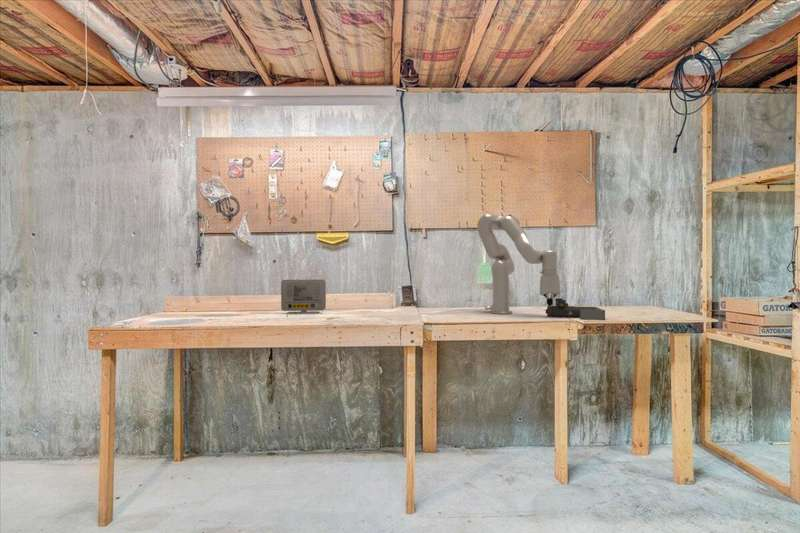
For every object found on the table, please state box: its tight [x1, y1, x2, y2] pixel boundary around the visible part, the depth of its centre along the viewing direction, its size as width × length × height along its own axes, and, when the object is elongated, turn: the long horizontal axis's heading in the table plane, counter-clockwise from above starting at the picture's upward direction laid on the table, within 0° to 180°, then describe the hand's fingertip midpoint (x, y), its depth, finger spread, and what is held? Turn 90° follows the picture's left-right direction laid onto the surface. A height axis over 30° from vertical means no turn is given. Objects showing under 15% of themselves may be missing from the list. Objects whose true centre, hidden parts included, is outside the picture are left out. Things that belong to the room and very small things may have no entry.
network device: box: [280, 279, 327, 315], centre depth 246 cm, size 26×9×20 cm, turn 94°
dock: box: [575, 305, 606, 321], centre depth 226 cm, size 12×17×5 cm
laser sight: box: [545, 297, 591, 319], centre depth 228 cm, size 10×22×10 cm, turn 78°
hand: (549, 305), depth 230 cm, fingers closed
